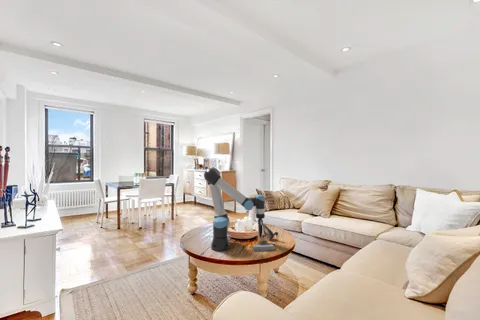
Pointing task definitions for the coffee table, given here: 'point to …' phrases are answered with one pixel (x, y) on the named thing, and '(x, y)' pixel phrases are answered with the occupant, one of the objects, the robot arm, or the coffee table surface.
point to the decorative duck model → (268, 232)
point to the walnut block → (262, 241)
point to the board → (263, 247)
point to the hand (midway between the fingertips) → (260, 240)
